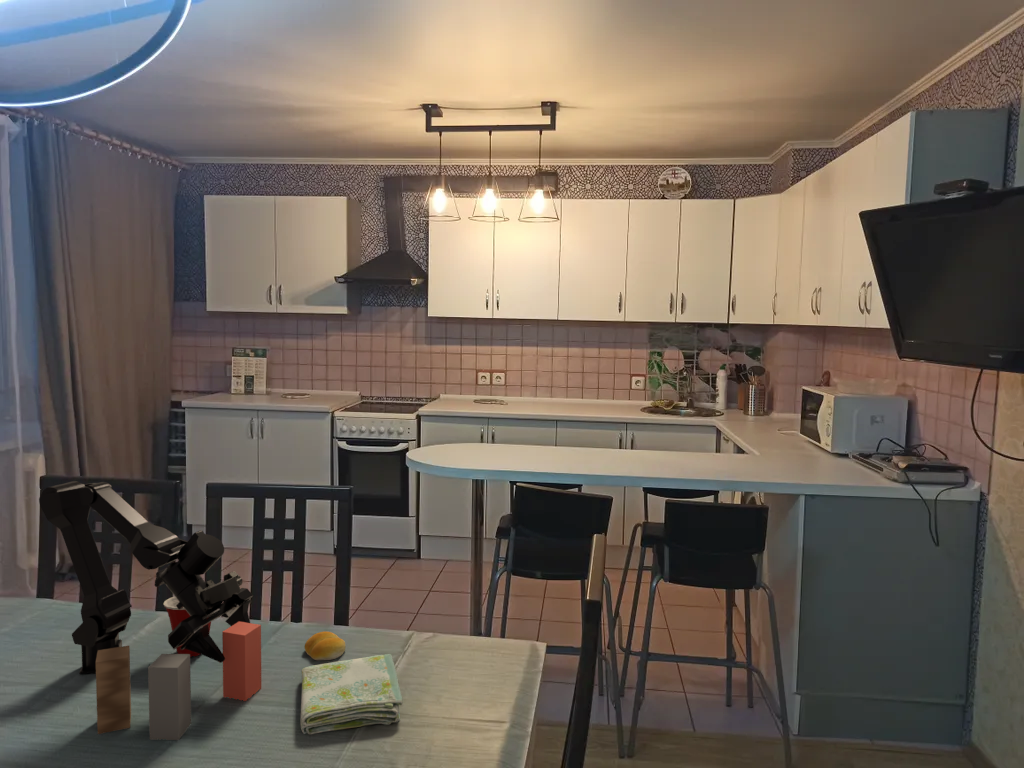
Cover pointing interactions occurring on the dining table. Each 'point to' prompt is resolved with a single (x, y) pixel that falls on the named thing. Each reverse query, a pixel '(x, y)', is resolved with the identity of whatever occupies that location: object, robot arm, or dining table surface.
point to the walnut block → (113, 689)
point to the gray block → (169, 696)
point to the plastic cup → (178, 620)
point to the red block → (241, 660)
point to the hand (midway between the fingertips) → (238, 650)
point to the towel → (349, 694)
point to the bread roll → (325, 646)
